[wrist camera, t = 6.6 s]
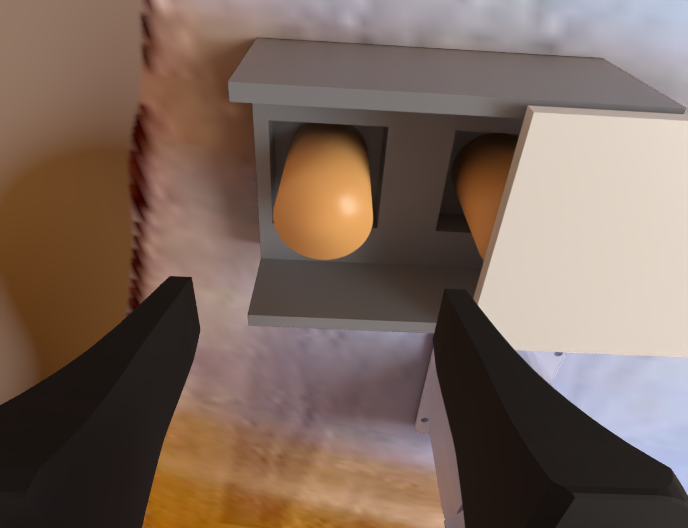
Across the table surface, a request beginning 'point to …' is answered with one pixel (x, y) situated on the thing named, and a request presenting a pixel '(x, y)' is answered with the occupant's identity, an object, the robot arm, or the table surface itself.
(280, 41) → the housing
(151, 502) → the table surface
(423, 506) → the table surface
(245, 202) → the table surface
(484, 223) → the jaw peg seated
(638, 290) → the lid
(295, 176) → the jaw peg
